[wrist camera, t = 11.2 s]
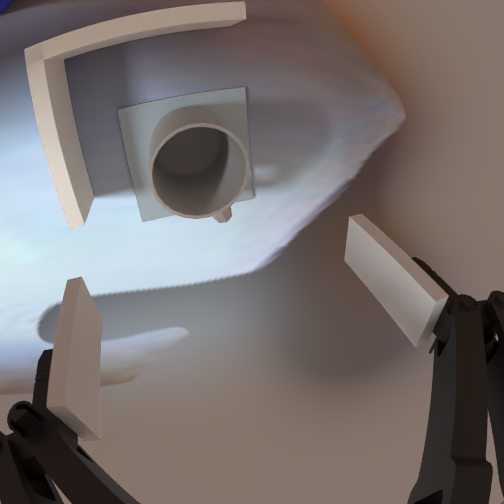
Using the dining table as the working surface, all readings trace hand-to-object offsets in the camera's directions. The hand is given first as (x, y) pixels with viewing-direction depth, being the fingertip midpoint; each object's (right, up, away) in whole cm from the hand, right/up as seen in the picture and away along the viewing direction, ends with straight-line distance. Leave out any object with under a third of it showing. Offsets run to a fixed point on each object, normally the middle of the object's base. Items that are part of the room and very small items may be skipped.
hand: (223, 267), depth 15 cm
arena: (-8, +14, +11) cm, 20 cm away
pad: (-5, +10, +15) cm, 19 cm away
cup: (-4, +10, +15) cm, 19 cm away
